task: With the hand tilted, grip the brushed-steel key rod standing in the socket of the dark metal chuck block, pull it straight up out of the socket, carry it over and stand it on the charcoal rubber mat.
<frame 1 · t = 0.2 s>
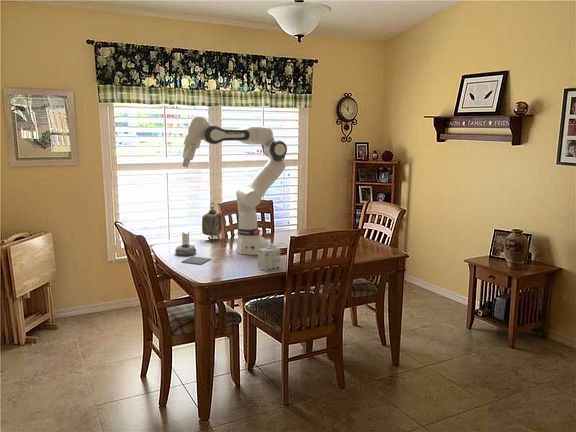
hand: (184, 166, 290), 51 cm above the table, tool tilted 20°, fingers open, 8 cm apart
tabletop clock: (211, 239, 339), on the table
mat: (196, 261, 285), on the table
light bulb box: (268, 268, 275), on the table
key rod: (185, 249, 300), point 2 cm above the table, touching chuck block
chuck block: (185, 253, 301), on the table
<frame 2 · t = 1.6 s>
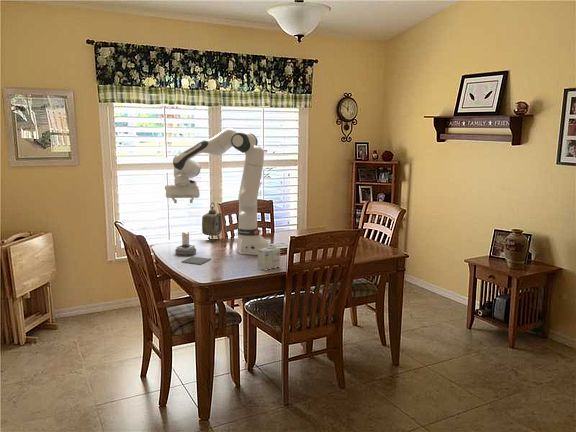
hand: (183, 202, 307), 29 cm above the table, tool tilted 45°, fingers open, 8 cm apart
nothing on the table moved.
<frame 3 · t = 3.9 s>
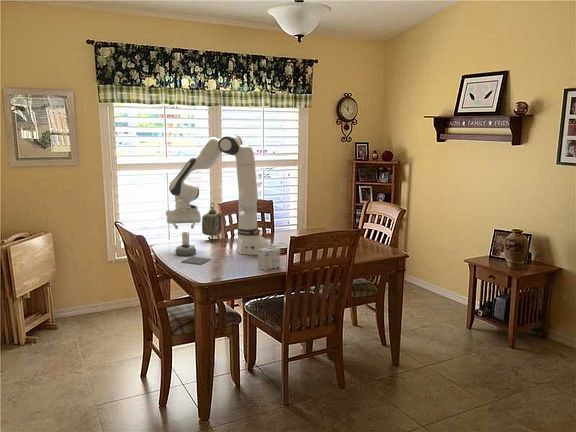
hand: (184, 228, 304), 14 cm above the table, tool tilted 45°, fingers open, 8 cm apart
nothing on the table moved.
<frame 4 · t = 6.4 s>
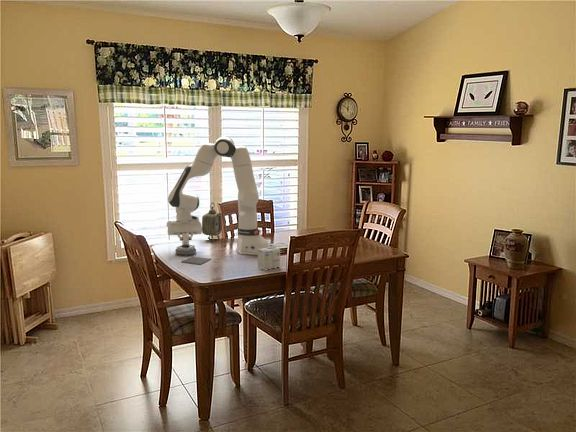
hand: (185, 239, 299), 8 cm above the table, tool tilted 45°, fingers closed on key rod, 4 cm apart
key rod: (185, 249, 300), point 2 cm above the table, touching chuck block, gripper
everything else where it was.
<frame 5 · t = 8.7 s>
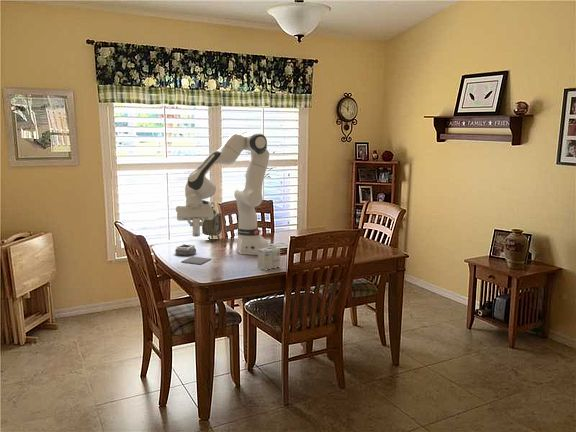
hand: (196, 225, 281), 20 cm above the table, tool tilted 45°, fingers closed on key rod, 4 cm apart
key rod: (196, 235, 283), point 14 cm above the table, touching gripper
everything else where it was.
when the fingers open (8 cm above the table, at t = 11.4 s): key rod drops 1 cm, resting on mat.
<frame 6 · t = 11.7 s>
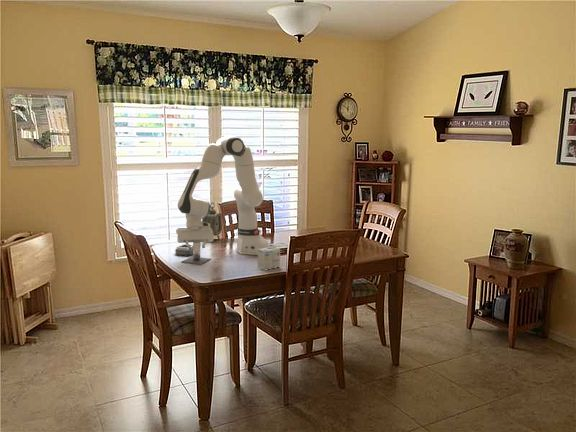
hand: (196, 247, 283), 8 cm above the table, tool tilted 45°, fingers open, 6 cm apart
key rod: (196, 259, 285), point 1 cm above the table, touching mat
everything else where it was.
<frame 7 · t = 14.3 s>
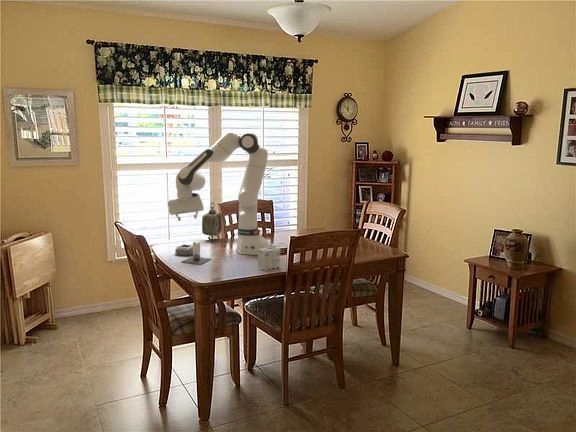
hand: (187, 219, 298), 20 cm above the table, tool tilted 35°, fingers open, 8 cm apart
nothing on the table moved.
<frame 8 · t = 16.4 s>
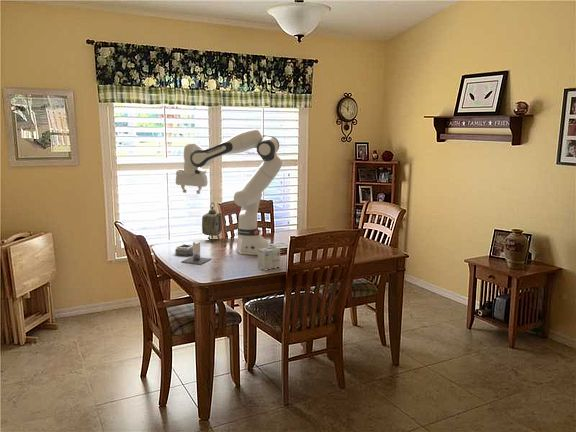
hand: (191, 193, 309), 34 cm above the table, tool pointing down, fingers open, 8 cm apart
nothing on the table moved.
at the end: key rod inside the target area on the mat (0.1 cm from its centre), point 0.6 cm above the mat's base; key rod tilted 0°; the gripper is holding nothing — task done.
